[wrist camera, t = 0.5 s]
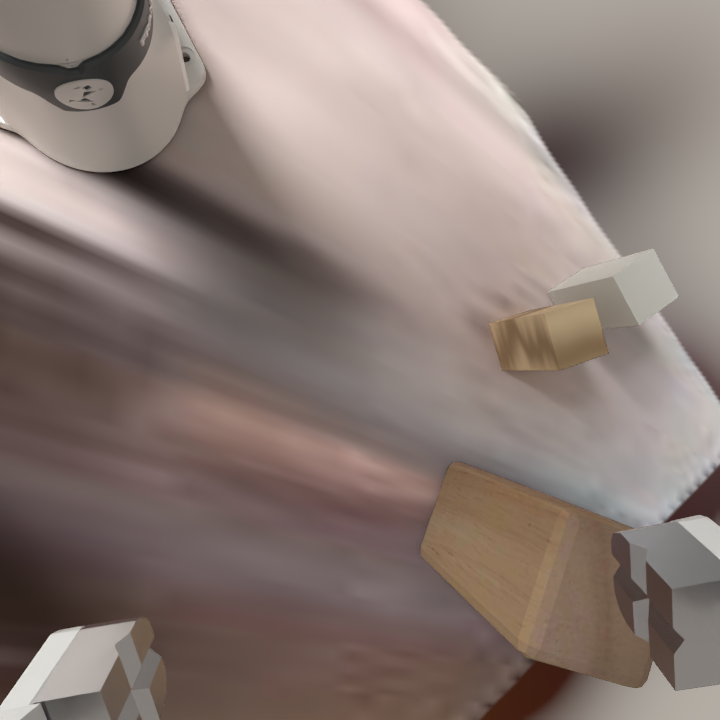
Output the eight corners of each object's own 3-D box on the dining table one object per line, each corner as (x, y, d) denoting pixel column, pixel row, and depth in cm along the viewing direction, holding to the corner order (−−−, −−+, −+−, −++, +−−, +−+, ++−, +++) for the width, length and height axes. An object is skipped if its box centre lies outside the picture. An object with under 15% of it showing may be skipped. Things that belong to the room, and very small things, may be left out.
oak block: (488, 323, 55) (544, 313, 45) (530, 310, 56) (593, 297, 47) (502, 370, 55) (560, 370, 46) (543, 356, 57) (608, 353, 47)
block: (531, 488, 56) (692, 551, 37) (500, 582, 55) (649, 698, 36) (447, 457, 54) (570, 506, 34) (413, 554, 53) (521, 662, 33)
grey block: (547, 292, 57) (612, 276, 47) (582, 268, 58) (653, 248, 48) (569, 332, 57) (639, 325, 48) (604, 308, 58) (678, 296, 49)
